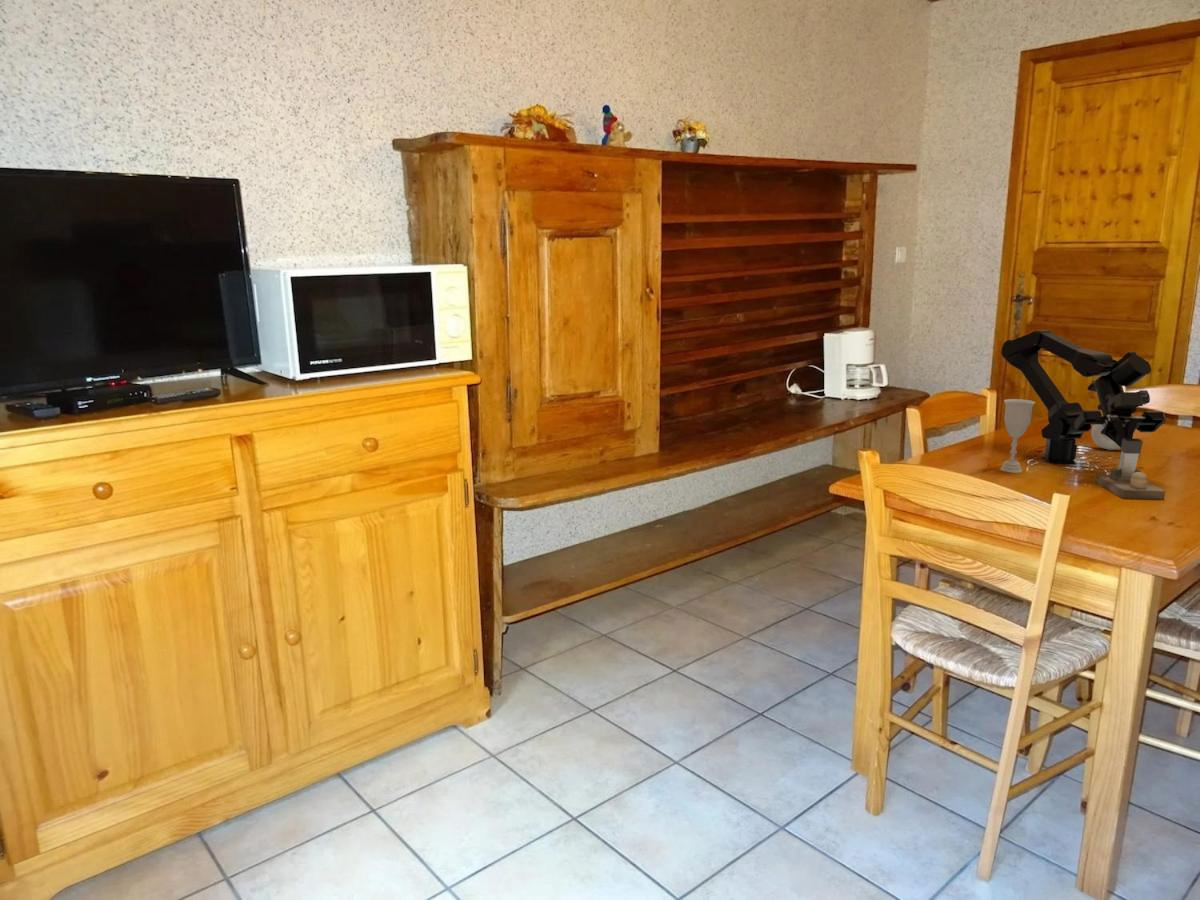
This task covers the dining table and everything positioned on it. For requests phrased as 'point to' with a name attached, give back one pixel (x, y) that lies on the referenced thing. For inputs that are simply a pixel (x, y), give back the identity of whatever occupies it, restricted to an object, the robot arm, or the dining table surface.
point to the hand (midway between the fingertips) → (1128, 451)
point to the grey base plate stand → (1128, 487)
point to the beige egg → (1138, 480)
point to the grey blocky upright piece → (1129, 456)
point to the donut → (1103, 439)
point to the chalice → (1016, 427)
